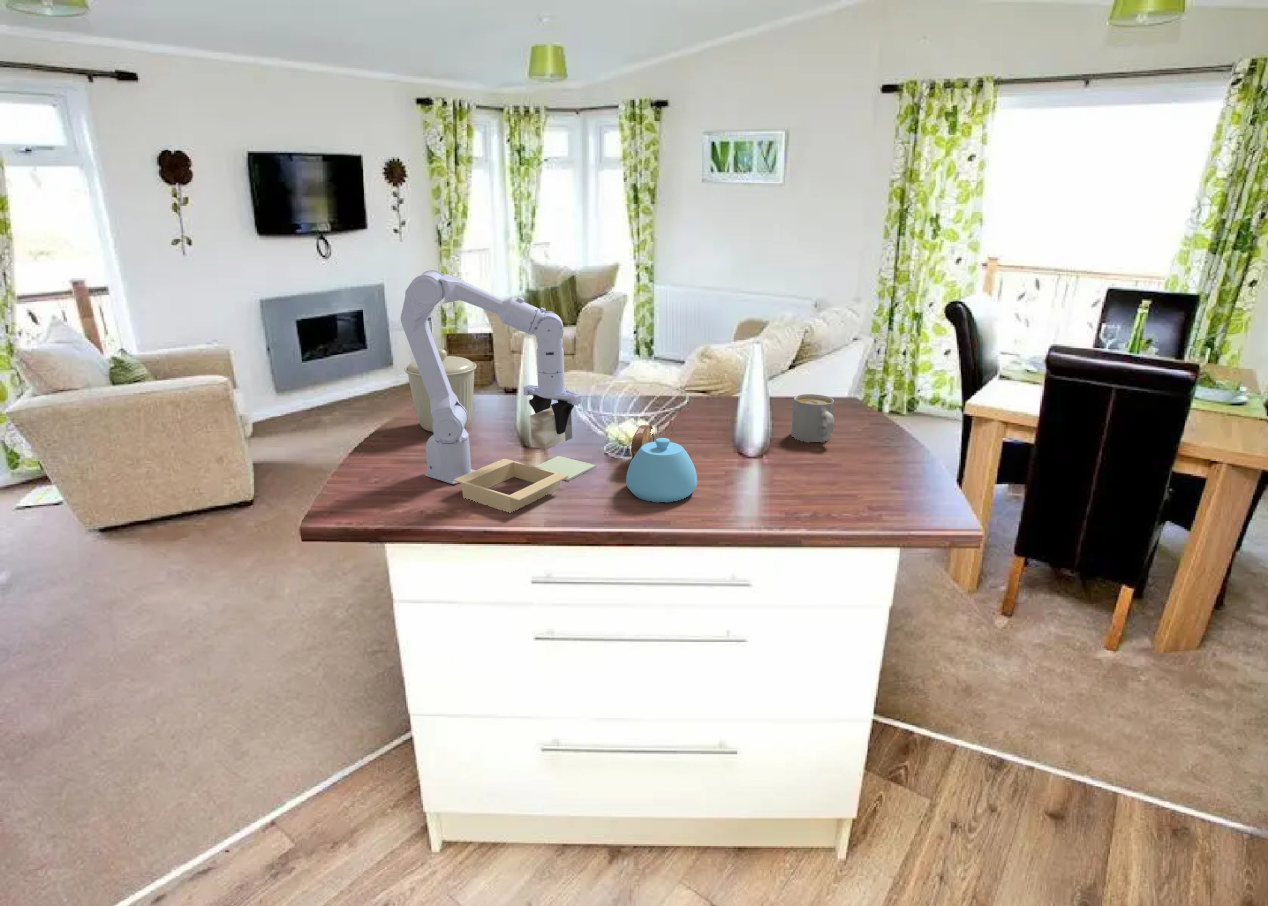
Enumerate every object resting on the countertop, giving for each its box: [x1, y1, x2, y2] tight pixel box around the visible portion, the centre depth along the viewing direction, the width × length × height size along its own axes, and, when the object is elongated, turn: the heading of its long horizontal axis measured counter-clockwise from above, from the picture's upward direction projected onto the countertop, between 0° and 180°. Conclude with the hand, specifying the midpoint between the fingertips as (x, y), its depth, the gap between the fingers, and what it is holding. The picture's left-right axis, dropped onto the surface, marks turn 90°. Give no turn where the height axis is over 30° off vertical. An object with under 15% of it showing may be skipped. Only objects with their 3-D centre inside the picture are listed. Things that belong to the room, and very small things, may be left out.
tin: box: [630, 424, 655, 460], centre depth 169 cm, size 15×3×8 cm, turn 168°
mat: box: [534, 455, 597, 482], centre depth 167 cm, size 11×10×1 cm
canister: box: [404, 348, 477, 433], centre depth 191 cm, size 18×18×21 cm
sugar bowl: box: [625, 437, 698, 503], centre depth 153 cm, size 15×15×12 cm
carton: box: [453, 458, 569, 514], centre depth 153 cm, size 18×15×4 cm
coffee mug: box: [790, 393, 835, 443], centre depth 186 cm, size 13×10×10 cm
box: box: [529, 406, 573, 451], centre depth 160 cm, size 4×9×7 cm, turn 146°
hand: (553, 431), depth 161 cm, fingers closed on box, 4 cm apart
